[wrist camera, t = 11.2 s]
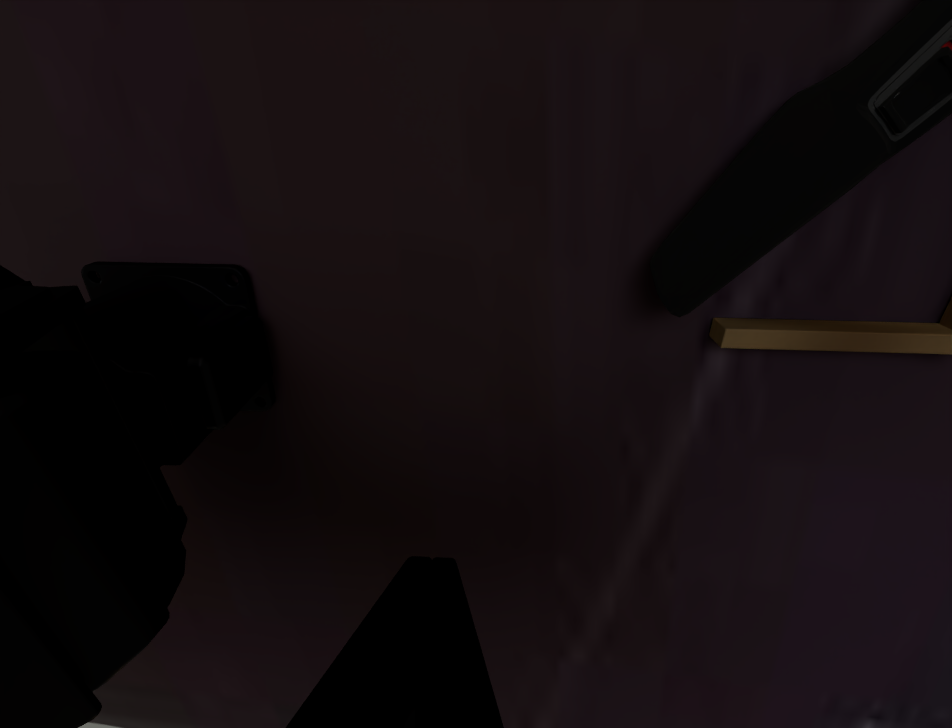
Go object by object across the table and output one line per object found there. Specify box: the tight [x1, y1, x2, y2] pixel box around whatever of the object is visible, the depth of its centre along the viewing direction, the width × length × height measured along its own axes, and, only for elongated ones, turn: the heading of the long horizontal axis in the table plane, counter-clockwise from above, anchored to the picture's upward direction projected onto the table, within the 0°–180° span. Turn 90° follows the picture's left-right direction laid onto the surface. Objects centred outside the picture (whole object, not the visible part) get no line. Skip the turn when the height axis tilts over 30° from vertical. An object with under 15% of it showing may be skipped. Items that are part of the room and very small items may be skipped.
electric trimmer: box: [650, 0, 952, 317], centre depth 14 cm, size 4×16×3 cm, turn 138°
